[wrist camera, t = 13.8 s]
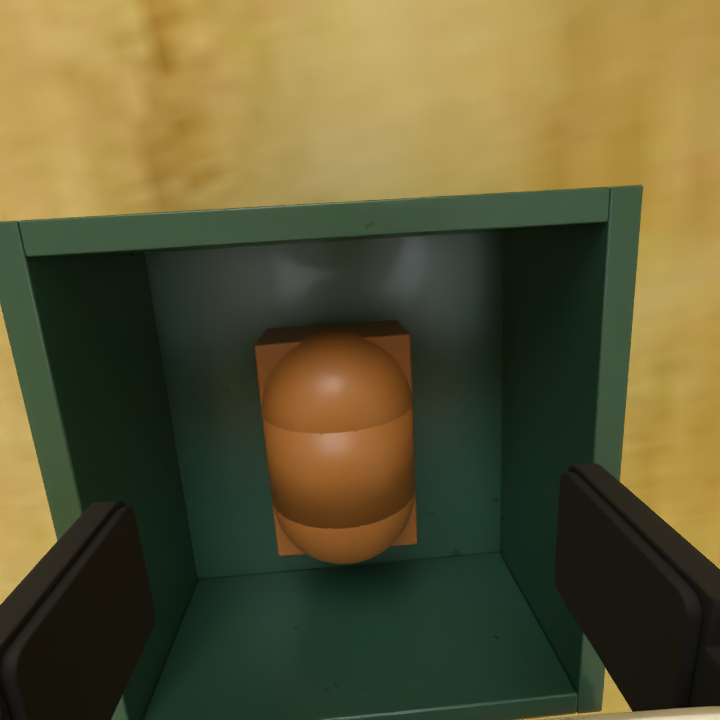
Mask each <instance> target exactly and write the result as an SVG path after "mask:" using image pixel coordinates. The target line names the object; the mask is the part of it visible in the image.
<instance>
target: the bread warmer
mask: <svg viewBox="0 0 720 720" xmlns="http://www.w3.org/2000/svg"><path fill="white" fill-rule="evenodd" d="M642 192H643V186H642V185H631V186H613V187H596V188H578V189H561V190H543V191H526V192H508V193H491V194H473V195H456V196H438V197H421V198H403V199H386V200H369V201H351V202H334V203H316V204H299V205H281V206H264V207H246V208H229V209H211V210H194V211H176V212H159V213H141V214H124V215H106V216H89V217H71V218H54V219H36V220H21V221H1V222H0V304H1V308H2V312H3V316H4V321H5V325H6V329H7V333H8V337H9V341H10V345H11V350H12V354H13V358H14V362H15V366H16V370H17V375H18V379H19V383H20V387H21V391H22V395H23V399H24V404H25V408H26V412H27V416H28V420H29V424H30V429H31V433H32V437H33V441H34V445H35V449H36V453H37V458H38V462H39V466H40V470H41V474H42V478H43V482H44V487H45V491H46V495H47V499H48V503H49V507H50V512H51V516H52V520H53V524H54V528H55V532H56V536H57V541H58V540H59V539H60V538H61V537H62V536H63V535H64V534H65V532H66V531H67V530H68V529H69V528H70V527H71V526H72V525H73V524H74V522H75V521H76V520H77V519H78V518H79V517H80V516H81V515H82V514H83V512H84V511H85V510H86V509H87V508H88V507H89V506H90V505H91V504H92V503H99V502H112V501H122V502H124V503H125V505H126V507H131V508H133V510H134V512H135V517H136V521H137V526H138V531H139V536H140V541H141V545H142V550H143V555H144V560H145V564H146V569H147V574H148V579H149V584H150V588H151V593H152V598H153V603H154V608H155V622H154V626H153V629H152V632H151V634H150V636H149V638H148V640H147V642H146V645H145V647H144V649H143V651H142V653H141V656H140V658H139V660H138V662H137V664H136V666H135V669H134V671H133V673H132V675H131V677H130V680H129V682H128V684H127V686H126V688H125V690H124V693H123V695H122V697H121V699H120V701H119V704H118V706H117V708H116V710H115V712H114V714H113V717H112V719H111V720H519V719H528V718H538V717H547V716H557V715H566V714H575V713H576V712H577V713H578V714H580V713H589V712H599V711H602V700H603V688H604V675H605V666H604V665H603V663H602V661H601V660H600V658H599V657H598V655H597V653H596V652H595V650H594V648H593V647H592V645H591V644H590V642H589V640H588V639H587V637H586V636H585V634H584V632H583V631H582V629H581V628H580V626H579V624H578V623H577V621H576V620H575V618H574V616H573V615H572V613H571V612H570V610H569V608H568V607H567V605H566V604H565V602H564V600H563V599H562V597H561V595H560V594H559V592H558V589H557V587H556V583H555V557H556V540H557V524H558V507H559V490H560V478H561V475H562V473H565V472H567V470H568V468H569V467H570V466H571V465H582V464H599V465H601V466H602V467H603V468H604V469H606V470H607V471H608V472H609V473H610V474H611V475H612V476H614V477H615V478H616V479H617V480H618V481H619V482H620V472H621V459H622V446H623V434H624V421H625V408H626V396H627V383H628V370H629V357H630V345H631V332H632V319H633V307H634V294H635V281H636V269H637V256H638V243H639V231H640V218H641V205H642ZM382 321H398V322H399V323H400V324H401V325H402V326H403V327H404V328H405V329H406V331H407V332H408V333H409V334H410V336H411V364H412V392H413V421H414V449H415V478H416V507H417V535H418V542H417V544H413V545H402V546H390V547H388V548H387V549H386V550H385V551H383V552H382V553H380V554H379V555H377V556H375V557H373V558H370V559H368V560H365V561H362V562H359V563H354V564H333V563H327V562H323V561H319V560H317V559H315V558H312V557H310V556H309V555H307V554H301V555H290V556H279V555H278V550H277V542H276V533H275V525H274V516H273V507H272V499H271V490H270V481H269V473H268V464H267V456H266V447H265V438H264V430H263V421H262V412H261V404H260V395H259V387H258V378H257V369H256V361H255V352H254V345H255V344H256V342H257V341H258V340H259V339H260V337H261V336H262V335H263V333H264V332H265V331H266V330H267V329H280V328H295V327H309V326H324V325H338V324H353V323H367V322H382Z"/></svg>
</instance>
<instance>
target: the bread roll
mask: <svg viewBox="0 0 720 720" xmlns="http://www.w3.org/2000/svg"><path fill="white" fill-rule="evenodd" d="M254 352H255V361H256V369H257V378H258V387H259V395H260V404H261V412H262V421H263V430H264V438H265V447H266V456H267V464H268V473H269V481H270V490H271V499H272V507H273V516H274V525H275V533H276V542H277V550H278V555H279V556H290V555H301V554H307V555H309V556H310V557H312V558H315V559H317V560H319V561H323V562H327V563H333V564H354V563H359V562H362V561H365V560H368V559H370V558H373V557H375V556H377V555H379V554H380V553H382V552H383V551H385V550H386V549H387V548H388V547H390V546H402V545H413V544H417V542H418V535H417V507H416V478H415V449H414V421H413V392H412V364H411V336H410V334H409V333H408V332H407V331H406V329H405V328H404V327H403V326H402V325H401V324H400V323H399V322H398V321H382V322H367V323H353V324H338V325H324V326H309V327H295V328H280V329H267V330H266V331H265V332H264V333H263V335H262V336H261V337H260V339H259V340H258V341H257V342H256V344H255V345H254Z"/></svg>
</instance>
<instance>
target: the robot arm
mask: <svg viewBox="0 0 720 720" xmlns="http://www.w3.org/2000/svg"><path fill="white" fill-rule="evenodd" d="M555 583H556V587H557V589H558V592H559V594H560V595H561V597H562V599H563V600H564V602H565V604H566V605H567V607H568V608H569V610H570V612H571V613H572V615H573V616H574V618H575V620H576V621H577V623H578V624H579V626H580V628H581V629H582V631H583V632H584V634H585V636H586V637H587V639H588V640H589V642H590V644H591V645H592V647H593V648H594V650H595V652H596V653H597V655H598V657H599V658H600V660H601V661H602V663H603V665H604V666H605V668H606V669H607V671H608V673H609V674H610V676H611V677H612V679H613V681H614V682H615V684H616V685H617V687H618V689H619V690H620V692H621V693H622V695H623V697H624V698H625V700H626V702H627V703H628V705H629V706H630V708H631V710H632V711H633V712H623V713H609V714H598V715H587V716H576V717H565V718H554V719H543V720H720V569H719V568H718V567H716V566H715V565H714V564H713V563H712V562H711V561H710V560H708V559H707V558H706V557H705V556H704V555H703V554H702V553H700V552H699V551H698V550H697V549H696V548H695V547H694V546H692V545H691V544H690V543H689V542H688V541H687V540H686V539H684V538H683V537H682V536H681V535H680V534H679V533H678V532H676V531H675V530H674V529H673V528H672V527H671V526H670V525H668V524H667V523H666V522H665V521H664V520H663V519H662V518H660V517H659V516H658V515H657V514H656V513H655V512H654V511H652V510H651V509H650V508H649V507H648V506H647V505H646V504H644V503H643V502H642V501H641V500H640V499H639V498H638V497H636V496H635V495H634V494H633V493H632V492H631V491H630V490H628V489H627V488H626V487H625V486H624V485H623V484H622V483H620V482H619V481H618V480H617V479H616V478H615V477H614V476H612V475H611V474H610V473H609V472H608V471H607V470H606V469H604V468H603V467H602V466H601V465H599V464H582V465H571V466H570V467H569V468H568V470H567V472H565V473H562V475H561V478H560V490H559V507H558V524H557V540H556V557H555ZM154 622H155V608H154V603H153V598H152V593H151V588H150V584H149V579H148V574H147V569H146V564H145V560H144V555H143V550H142V545H141V541H140V536H139V531H138V526H137V521H136V517H135V512H134V510H133V508H131V507H126V505H125V503H124V502H122V501H112V502H99V503H92V504H91V505H90V506H89V507H88V508H87V509H86V510H85V511H84V512H83V514H82V515H81V516H80V517H79V518H78V519H77V520H76V521H75V522H74V524H73V525H72V526H71V527H70V528H69V529H68V530H67V531H66V532H65V534H64V535H63V536H62V537H61V538H60V539H59V540H58V541H57V543H56V544H55V545H54V546H53V547H52V548H51V549H50V550H49V551H48V553H47V554H46V555H45V556H44V557H43V558H42V559H41V560H40V562H39V563H38V564H37V565H36V566H35V567H34V568H33V569H32V570H31V572H30V573H29V574H28V575H27V576H26V577H25V578H24V579H23V580H22V582H21V583H20V584H19V585H18V586H17V587H16V588H15V589H14V591H13V592H12V593H11V594H10V595H9V596H8V597H7V598H6V599H5V601H4V602H3V603H2V604H1V605H0V720H111V719H112V717H113V714H114V712H115V710H116V708H117V706H118V704H119V701H120V699H121V697H122V695H123V693H124V690H125V688H126V686H127V684H128V682H129V680H130V677H131V675H132V673H133V671H134V669H135V666H136V664H137V662H138V660H139V658H140V656H141V653H142V651H143V649H144V647H145V645H146V642H147V640H148V638H149V636H150V634H151V632H152V629H153V626H154Z"/></svg>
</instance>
